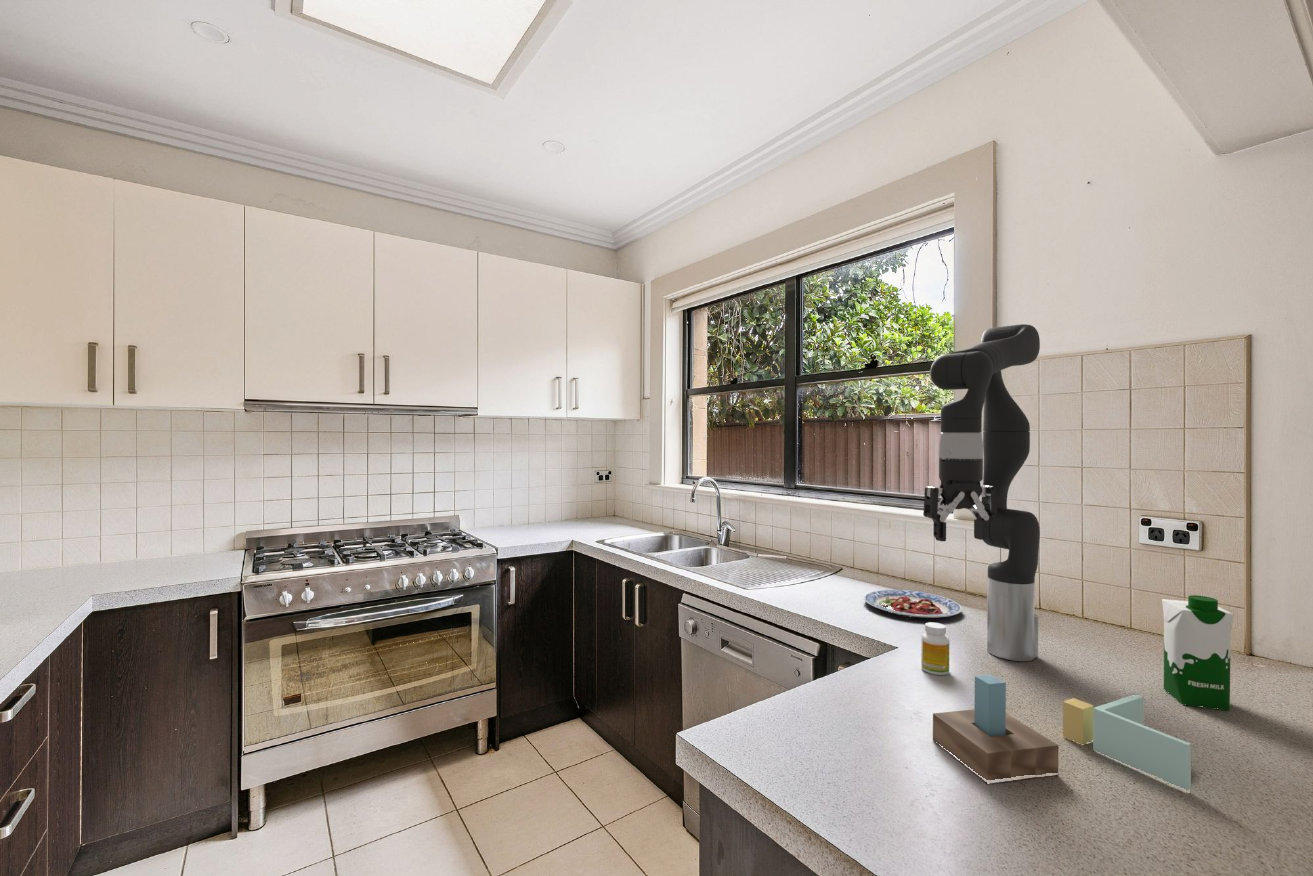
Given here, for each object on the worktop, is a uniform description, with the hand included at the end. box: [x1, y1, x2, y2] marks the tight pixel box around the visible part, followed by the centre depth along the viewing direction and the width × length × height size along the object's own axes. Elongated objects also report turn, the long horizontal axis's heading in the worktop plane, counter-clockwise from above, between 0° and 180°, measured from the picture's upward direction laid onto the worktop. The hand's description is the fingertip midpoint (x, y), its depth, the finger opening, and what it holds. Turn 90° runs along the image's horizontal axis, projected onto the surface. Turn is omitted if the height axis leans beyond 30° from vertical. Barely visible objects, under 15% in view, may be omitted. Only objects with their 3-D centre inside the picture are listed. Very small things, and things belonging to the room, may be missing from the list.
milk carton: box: [1161, 594, 1235, 711], centre depth 109 cm, size 9×9×20 cm
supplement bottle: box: [920, 621, 950, 676], centre depth 123 cm, size 5×5×10 cm
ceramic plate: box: [864, 589, 963, 619], centre depth 166 cm, size 26×26×3 cm
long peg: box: [974, 674, 1007, 737], centre depth 90 cm, size 3×3×12 cm
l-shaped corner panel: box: [1092, 693, 1192, 790], centre depth 89 cm, size 12×12×8 cm
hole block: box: [932, 708, 1060, 780], centre depth 90 cm, size 12×12×4 cm
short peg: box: [1062, 697, 1094, 744], centre depth 95 cm, size 3×3×6 cm
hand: (960, 539), depth 111 cm, fingers open, 8 cm apart
